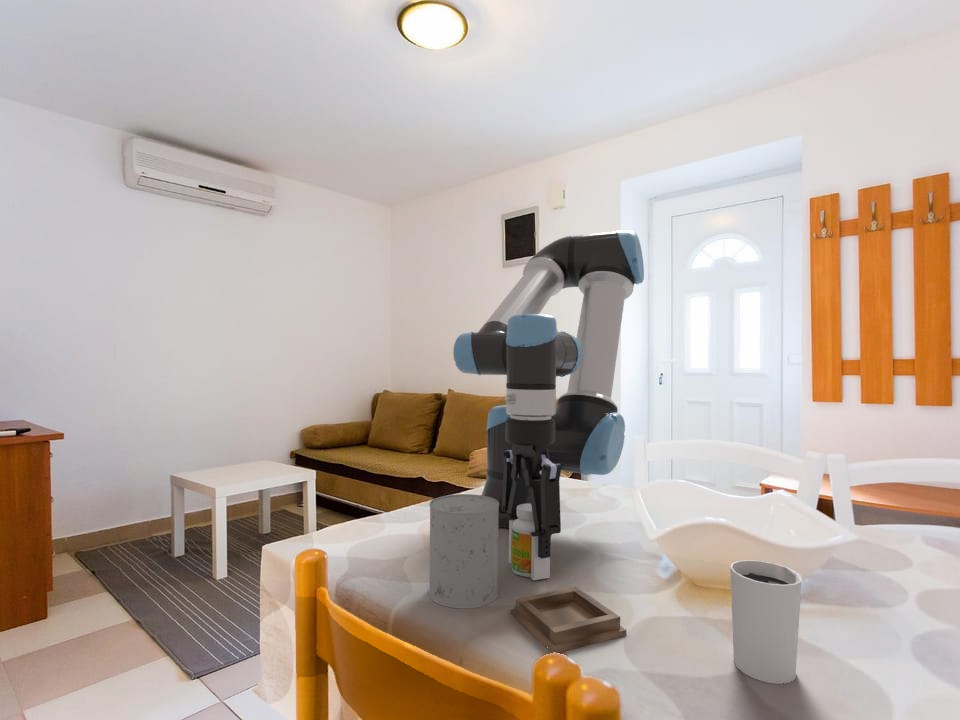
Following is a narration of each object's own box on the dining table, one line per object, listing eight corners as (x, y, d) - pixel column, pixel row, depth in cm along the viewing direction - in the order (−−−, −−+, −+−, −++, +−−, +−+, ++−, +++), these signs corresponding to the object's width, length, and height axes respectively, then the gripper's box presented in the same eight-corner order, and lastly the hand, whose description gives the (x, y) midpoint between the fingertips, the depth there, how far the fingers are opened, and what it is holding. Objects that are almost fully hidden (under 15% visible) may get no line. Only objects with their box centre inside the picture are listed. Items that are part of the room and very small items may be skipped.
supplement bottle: (504, 571, 81) (504, 506, 81) (526, 561, 85) (526, 500, 85) (532, 581, 77) (533, 514, 77) (554, 570, 81) (554, 506, 81)
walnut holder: (576, 599, 71) (576, 584, 71) (626, 635, 62) (626, 617, 62) (510, 613, 67) (510, 597, 67) (553, 653, 58) (553, 635, 58)
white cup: (731, 677, 54) (732, 579, 54) (726, 645, 60) (727, 556, 60) (807, 693, 52) (808, 589, 52) (794, 657, 58) (795, 565, 58)
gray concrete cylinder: (419, 584, 76) (420, 497, 76) (481, 574, 80) (482, 491, 80) (442, 614, 67) (442, 516, 67) (510, 601, 71) (511, 508, 71)
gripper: (481, 411, 88) (479, 551, 88) (542, 425, 71) (539, 600, 71) (521, 410, 91) (519, 545, 91) (589, 423, 74) (586, 590, 74)
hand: (528, 569), depth 81 cm, fingers open, 6 cm apart
